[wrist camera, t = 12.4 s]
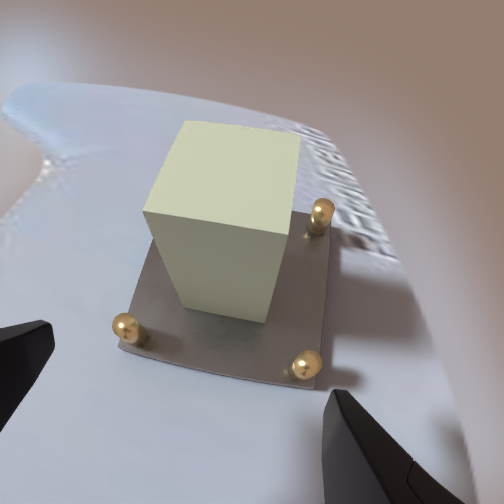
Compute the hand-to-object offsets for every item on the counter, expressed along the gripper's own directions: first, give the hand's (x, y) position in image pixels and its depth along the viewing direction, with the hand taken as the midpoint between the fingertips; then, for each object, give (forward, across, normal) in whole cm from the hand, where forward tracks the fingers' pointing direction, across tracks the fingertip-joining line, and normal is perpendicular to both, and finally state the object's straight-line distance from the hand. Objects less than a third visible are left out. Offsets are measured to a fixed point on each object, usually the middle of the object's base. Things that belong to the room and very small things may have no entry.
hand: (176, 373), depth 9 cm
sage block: (+12, 0, +1) cm, 12 cm away
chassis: (+13, 0, +2) cm, 13 cm away
